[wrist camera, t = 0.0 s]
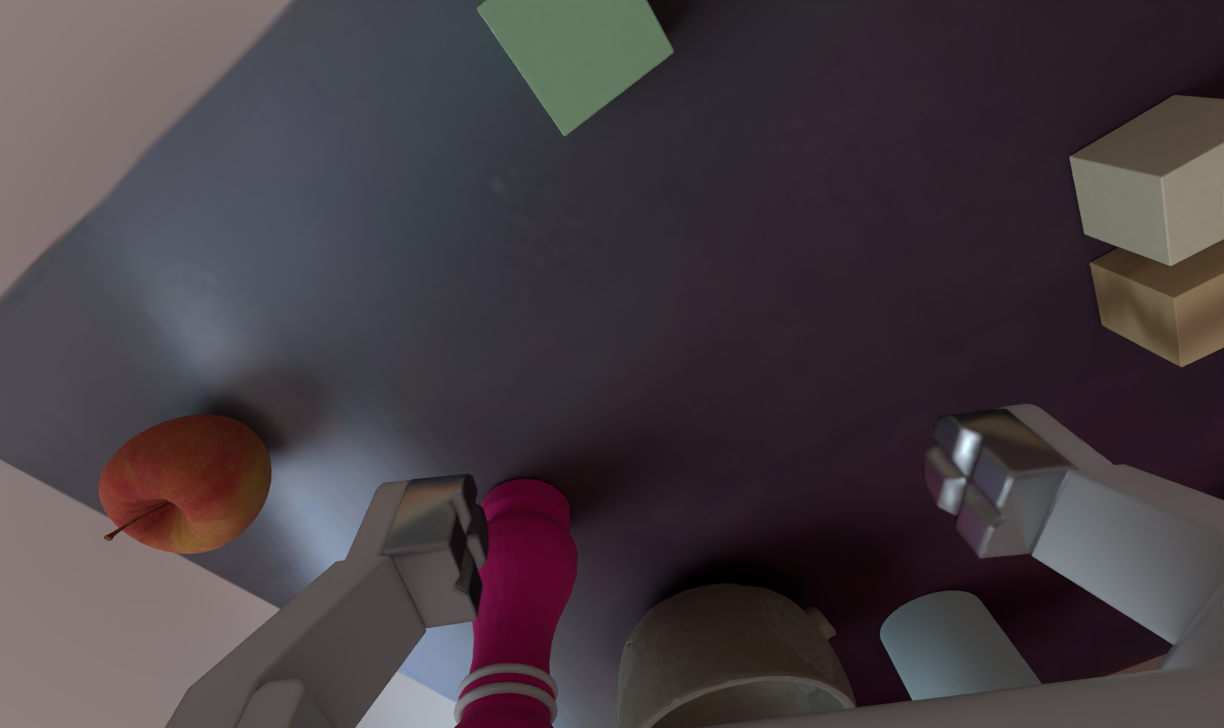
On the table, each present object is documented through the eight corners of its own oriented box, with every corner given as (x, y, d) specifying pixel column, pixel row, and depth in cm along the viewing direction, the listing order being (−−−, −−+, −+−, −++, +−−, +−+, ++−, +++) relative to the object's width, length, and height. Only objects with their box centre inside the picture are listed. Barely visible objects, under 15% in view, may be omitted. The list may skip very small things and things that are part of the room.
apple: (306, 482, 35) (242, 590, 28) (186, 479, 34) (90, 589, 27) (282, 390, 31) (201, 487, 24) (146, 384, 30) (23, 483, 24)
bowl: (818, 536, 41) (884, 666, 32) (802, 663, 50) (850, 789, 42) (597, 566, 41) (604, 703, 33) (622, 687, 50) (632, 818, 42)
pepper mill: (511, 557, 40) (467, 941, 23) (452, 498, 36) (347, 900, 19) (595, 521, 39) (615, 902, 21) (541, 456, 35) (514, 849, 18)
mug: (860, 630, 48) (923, 757, 40) (951, 576, 45) (1040, 702, 36) (937, 677, 53) (1006, 798, 45) (1023, 632, 50) (1116, 753, 42)
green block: (494, 14, 22) (476, 8, 18) (590, -70, 21) (595, -99, 17) (565, 120, 25) (564, 137, 20) (656, 50, 23) (675, 51, 19)
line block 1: (1068, 156, 27) (1161, 177, 23) (1174, 94, 26) (1293, 104, 22) (1083, 234, 29) (1170, 267, 25) (1181, 180, 28) (1290, 205, 24)
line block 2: (1089, 262, 30) (1174, 298, 26) (1184, 211, 29) (1289, 240, 25) (1101, 325, 33) (1181, 367, 28) (1189, 280, 31) (1287, 317, 27)
